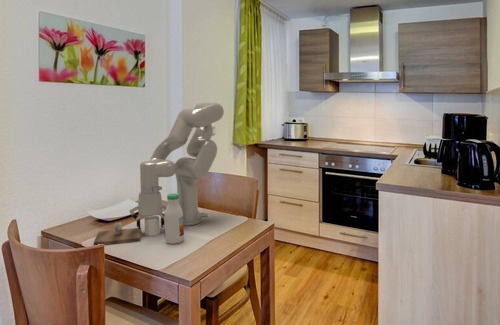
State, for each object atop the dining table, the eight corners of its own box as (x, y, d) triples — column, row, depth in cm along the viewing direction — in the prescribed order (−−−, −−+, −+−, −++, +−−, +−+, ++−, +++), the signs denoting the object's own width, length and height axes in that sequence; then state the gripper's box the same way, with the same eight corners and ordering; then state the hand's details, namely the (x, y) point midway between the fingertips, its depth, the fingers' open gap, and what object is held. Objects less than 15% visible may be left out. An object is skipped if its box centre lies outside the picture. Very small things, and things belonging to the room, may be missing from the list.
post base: (141, 230, 159) (140, 217, 158) (140, 241, 147) (139, 226, 146) (98, 234, 154) (97, 220, 153) (93, 246, 142) (92, 230, 141)
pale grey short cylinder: (159, 230, 160) (158, 215, 159) (159, 234, 154) (159, 219, 153) (145, 231, 158) (144, 216, 157) (145, 236, 152) (144, 220, 151)
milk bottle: (175, 245, 142) (173, 197, 139) (161, 242, 146) (159, 195, 143) (188, 239, 148) (186, 193, 145) (174, 236, 152) (172, 191, 149)
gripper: (169, 187, 159) (170, 223, 161) (129, 188, 154) (130, 226, 157) (170, 190, 152) (171, 228, 154) (128, 192, 147) (129, 231, 149)
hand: (150, 227), depth 155 cm, fingers open, 9 cm apart
